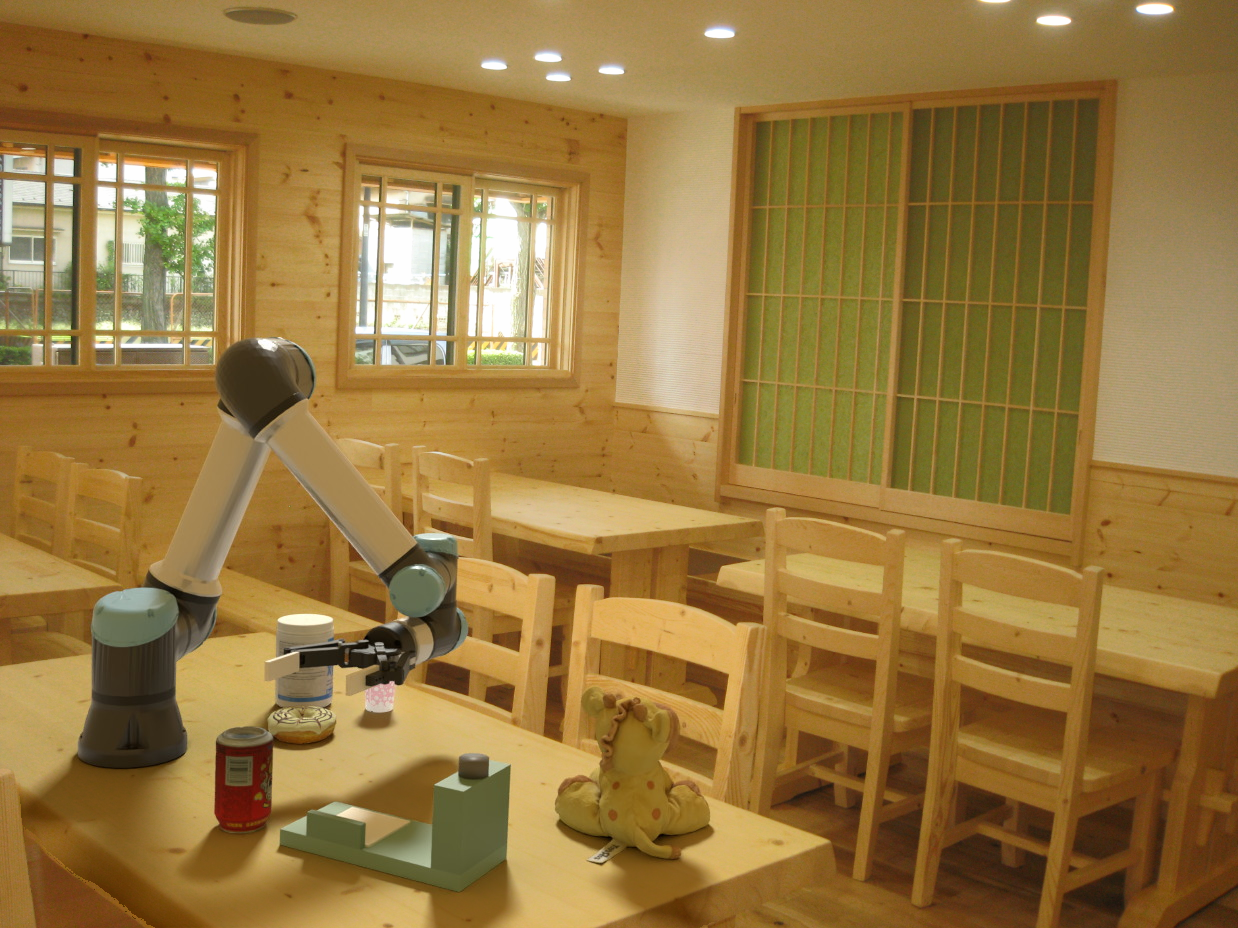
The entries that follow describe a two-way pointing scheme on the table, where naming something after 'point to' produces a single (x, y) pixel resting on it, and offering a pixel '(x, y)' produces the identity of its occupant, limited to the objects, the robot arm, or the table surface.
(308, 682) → the supplement tub
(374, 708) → the beverage cup
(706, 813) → the giraffe plush
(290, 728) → the decorated donut
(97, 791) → the table surface
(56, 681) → the table surface
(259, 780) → the soda can
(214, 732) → the table surface
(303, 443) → the robot arm
